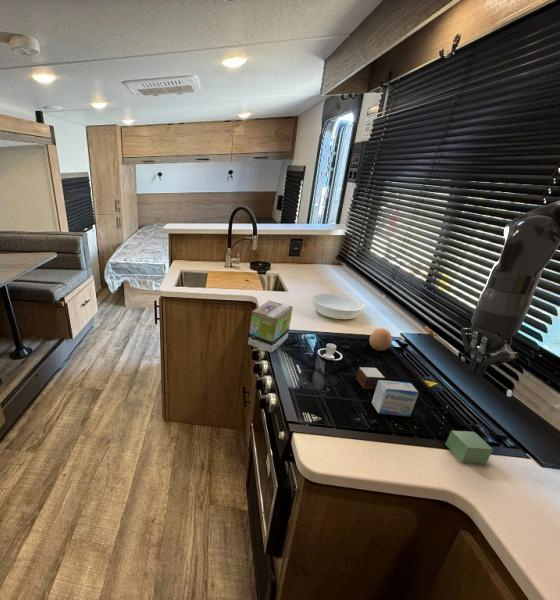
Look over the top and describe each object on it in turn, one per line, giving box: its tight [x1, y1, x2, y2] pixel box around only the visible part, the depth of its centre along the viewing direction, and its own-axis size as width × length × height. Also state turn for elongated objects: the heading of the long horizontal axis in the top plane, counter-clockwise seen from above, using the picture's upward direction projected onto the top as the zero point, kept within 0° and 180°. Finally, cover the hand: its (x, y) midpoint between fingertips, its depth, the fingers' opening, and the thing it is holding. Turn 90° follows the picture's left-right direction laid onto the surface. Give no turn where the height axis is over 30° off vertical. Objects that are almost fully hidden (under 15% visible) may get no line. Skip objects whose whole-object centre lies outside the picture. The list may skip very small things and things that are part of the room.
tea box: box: [247, 300, 294, 354], centre depth 118 cm, size 15×10×15 cm
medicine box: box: [371, 379, 420, 418], centre depth 84 cm, size 8×4×9 cm, turn 79°
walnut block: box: [355, 366, 386, 390], centre depth 94 cm, size 5×5×5 cm
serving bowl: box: [311, 293, 365, 320], centre depth 142 cm, size 21×21×7 cm
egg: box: [368, 327, 393, 352], centre depth 112 cm, size 7×7×9 cm
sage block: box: [444, 430, 494, 465], centre depth 70 cm, size 5×5×5 cm
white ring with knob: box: [317, 342, 343, 361], centre depth 110 cm, size 9×8×4 cm
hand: (474, 373), depth 73 cm, fingers closed
